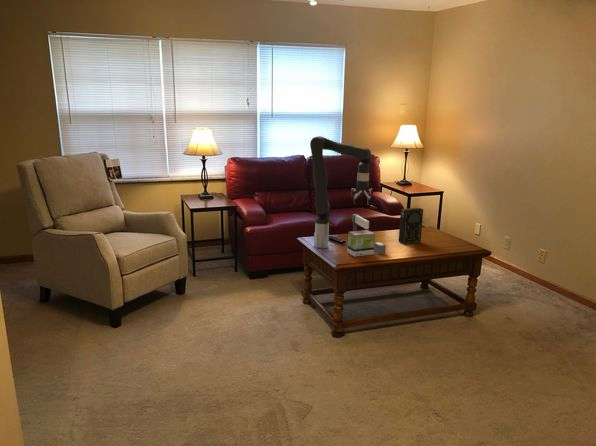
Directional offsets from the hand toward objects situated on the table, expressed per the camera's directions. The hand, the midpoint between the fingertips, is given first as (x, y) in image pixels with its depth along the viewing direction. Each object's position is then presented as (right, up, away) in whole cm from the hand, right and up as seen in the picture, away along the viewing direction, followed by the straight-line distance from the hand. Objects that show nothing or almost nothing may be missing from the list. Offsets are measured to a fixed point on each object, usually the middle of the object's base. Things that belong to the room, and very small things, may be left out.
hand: (361, 204), depth 302 cm
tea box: (0, -33, +5) cm, 33 cm away
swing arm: (0, -13, +3) cm, 14 cm away
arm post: (-3, -30, +15) cm, 34 cm away
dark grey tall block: (+39, -26, +32) cm, 57 cm away
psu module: (+13, -32, +8) cm, 35 cm away
